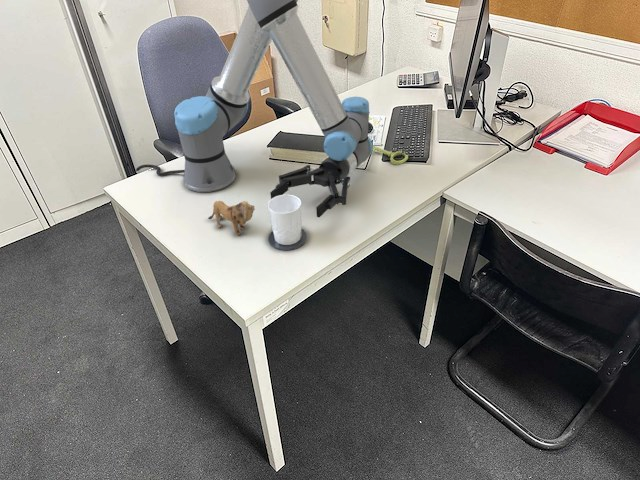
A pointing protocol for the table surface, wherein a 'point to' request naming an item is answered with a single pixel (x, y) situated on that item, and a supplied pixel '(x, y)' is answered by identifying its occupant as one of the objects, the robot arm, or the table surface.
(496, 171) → the table surface
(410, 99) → the table surface
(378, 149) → the key
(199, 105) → the robot arm
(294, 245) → the slate coaster
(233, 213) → the lion figurine
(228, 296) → the table surface
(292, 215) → the white cup
